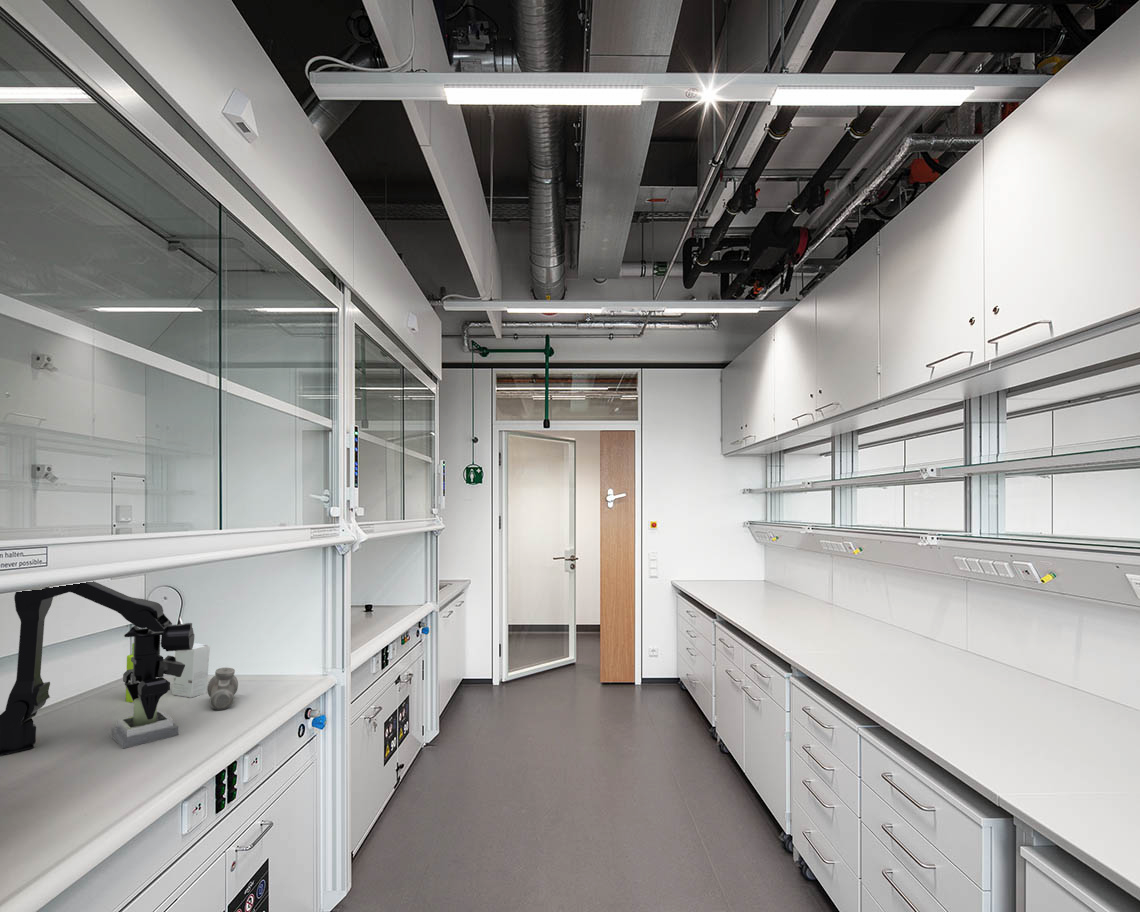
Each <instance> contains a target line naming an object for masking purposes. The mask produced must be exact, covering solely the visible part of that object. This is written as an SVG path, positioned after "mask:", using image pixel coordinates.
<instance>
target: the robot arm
mask: <svg viewBox="0 0 1140 912" xmlns="http://www.w3.org/2000/svg"><path fill="white" fill-rule="evenodd" d="M92 581H93V582H86V583H80V584H73V585H66V586H59V587H53V588H48V589H42V590H32V591H22V592H16V591H15V592H14V596H13V597H14V598H13V599H14V607H15V612H16V614H17V616H18V618H19V620H20V627H19V642H18V653H17V668H16V679H15V682H14V684H13V686H12V689H11V690H10V692H9V695H8V699H7V702H6V704H5V705H6V706H5V710H4V711H3V712H2V713H0V756H4V755H5V756H6V755H9V754H14V753H17V752H22V751H26V750H31V749H34V747H35V744H36V742H37V741H36V739H37V726H36V724H34V720H33V718H34V717H36V715H37V713H38V711H39V710H40V709H42V707H44V706H45V704H46V702H47V701H48V699H50V698H51V696H50V694H49V693H50V692H49V690H50V686H51V682H50V681H46V682H44V681H43V678H42V675H41V671H42V657H43V643H44V633H45V632H44V631H45V620H46V616H47V615H48V613H49V610H50V608H51V606H52V603H53V600H54V597H57V596H62V595H64V594H67V593H73V594H74V595H77V596H79V597H80V598H81V597H82V598H84V599H87V600H89V601H90V602H94V603H96V604H98V605H100V606H102V607H105V608H108V609H109V610H112V611H114V612H116V613H118V614H120V615H121V616H122V617H123V618H124V619H125V620H126V621H128V622H129V623H131V624H132V625H134V626H131V628H130V630H129V631H128V632H126V633H124V634H123V637H124V638H133V643H134V656H133V657H131V661H132V662H133V669H130V670H127V669H126V671H125V672H124V673H122V682H124V686H125V689H126V688H127V690H128V692H129V694H130V696H131V698H132V700H133V702H132V703H134V700H135V699H136V698H139V699H140V702H141V704H142V707H143V709H144V712H145V714H146V717H147V719H148V720H149V719H153V716H154V713H155V710H156V707H157V708H158V704H159V702H160V699H161V698H162V697H163V696H164V695H165V694H167V693H169V691H170V690H171V682H170V681H169V680H167V679H166V678H164V677H165V675H167V676H172V677H173V676H176V677H181V675H182V672H183V670H184V667H185V664H183V663H181V662H178V661H177V662H176V658H175V655H174V656H173V655H167V656H166V657H165V658H164V656H162V655H161V648H162V650H165V652H175V651H180V650H192V648H193V645H194V643H195V633H194V628H193V623H192V622H186V623H182V624H181V623H179V624H178V623H177V624H173V623H172V622H171V620H170V619H169V618H168V617H167V616H166V614H164V609H163V606H162V605H161V604H160V603H159V602H156V601H152V600H149V599H145V598H139V597H132V596H129V595H127V594H124V593H121V591H120V592H119V591H117V590H115V589H112V588H111V587H108V586H106V585H104V584H101V583H99V582H96V581H94V580H92Z"/></svg>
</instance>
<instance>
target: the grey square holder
mask: <svg viewBox="0 0 1140 912" xmlns="http://www.w3.org/2000/svg"><path fill="white" fill-rule="evenodd" d="M179 729H180V728H179V726H178V725H177V724H176V723H174V719H173V718H172V717H171V716H170V715H169V714H168V713H166V712H165V711H164V710H162V709H161V710H157V720H156V722H153V723H149V724H144V725H140V726H135V727H133V716H129V717H123V718H119V719H117V720H116V726H113V727H110V737H111V738H112V739H113V740H114V741H115V742H116V743H117V744H118V745H119V747H121V748H122V749H127V748H130V747H135V746H140V745H143V744H148V743H151V742H156V741H160V740H163V739H167V738H172V737H175V736H179Z"/></svg>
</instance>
